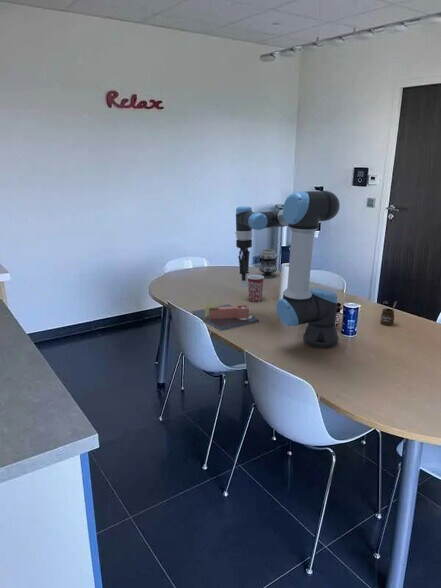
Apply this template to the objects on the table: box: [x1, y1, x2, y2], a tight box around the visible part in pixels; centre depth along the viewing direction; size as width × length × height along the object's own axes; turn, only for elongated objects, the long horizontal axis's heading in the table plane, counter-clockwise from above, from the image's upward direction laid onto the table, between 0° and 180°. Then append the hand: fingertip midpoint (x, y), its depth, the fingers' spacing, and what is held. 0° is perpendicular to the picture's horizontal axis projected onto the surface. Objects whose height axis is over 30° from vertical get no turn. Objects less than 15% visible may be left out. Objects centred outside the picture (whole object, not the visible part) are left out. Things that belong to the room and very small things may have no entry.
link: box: [210, 304, 250, 319], centre depth 224 cm, size 19×6×5 cm, turn 96°
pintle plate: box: [192, 304, 260, 331], centre depth 228 cm, size 28×22×1 cm
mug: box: [247, 274, 265, 303], centre depth 255 cm, size 13×9×14 cm
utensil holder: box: [380, 300, 398, 327], centre depth 217 cm, size 6×6×12 cm
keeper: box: [203, 301, 220, 319], centre depth 224 cm, size 7×6×8 cm
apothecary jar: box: [258, 248, 278, 279], centre depth 301 cm, size 12×12×18 cm
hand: (244, 286), depth 226 cm, fingers closed
